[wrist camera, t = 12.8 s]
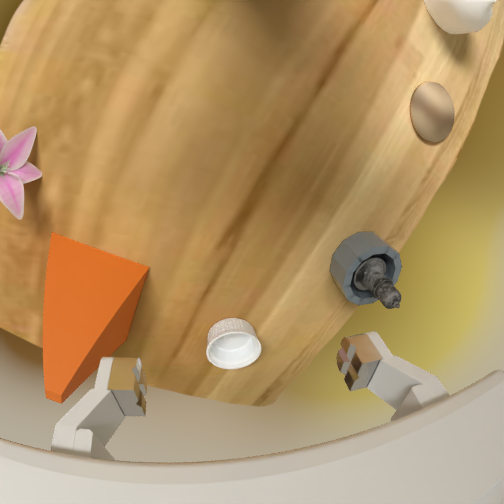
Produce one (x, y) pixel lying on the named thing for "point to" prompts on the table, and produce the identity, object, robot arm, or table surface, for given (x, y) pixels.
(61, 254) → the pyramid
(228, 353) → the ramekin
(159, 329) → the table surface
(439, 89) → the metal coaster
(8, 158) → the lily
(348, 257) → the grey faceted cup
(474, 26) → the teardrop
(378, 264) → the grey chess piece
